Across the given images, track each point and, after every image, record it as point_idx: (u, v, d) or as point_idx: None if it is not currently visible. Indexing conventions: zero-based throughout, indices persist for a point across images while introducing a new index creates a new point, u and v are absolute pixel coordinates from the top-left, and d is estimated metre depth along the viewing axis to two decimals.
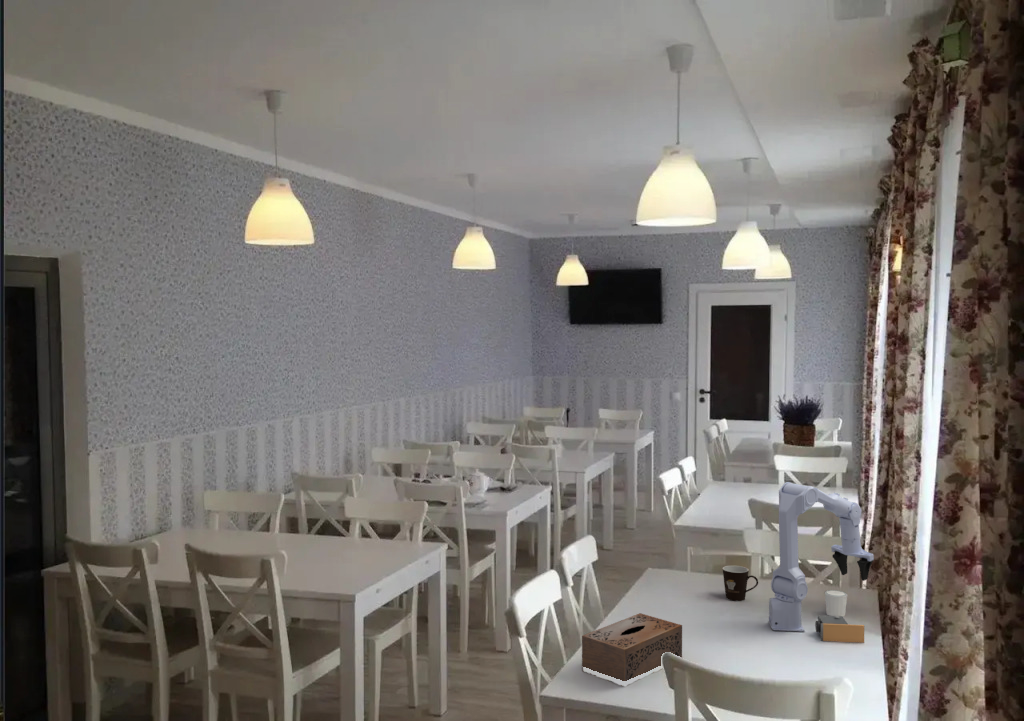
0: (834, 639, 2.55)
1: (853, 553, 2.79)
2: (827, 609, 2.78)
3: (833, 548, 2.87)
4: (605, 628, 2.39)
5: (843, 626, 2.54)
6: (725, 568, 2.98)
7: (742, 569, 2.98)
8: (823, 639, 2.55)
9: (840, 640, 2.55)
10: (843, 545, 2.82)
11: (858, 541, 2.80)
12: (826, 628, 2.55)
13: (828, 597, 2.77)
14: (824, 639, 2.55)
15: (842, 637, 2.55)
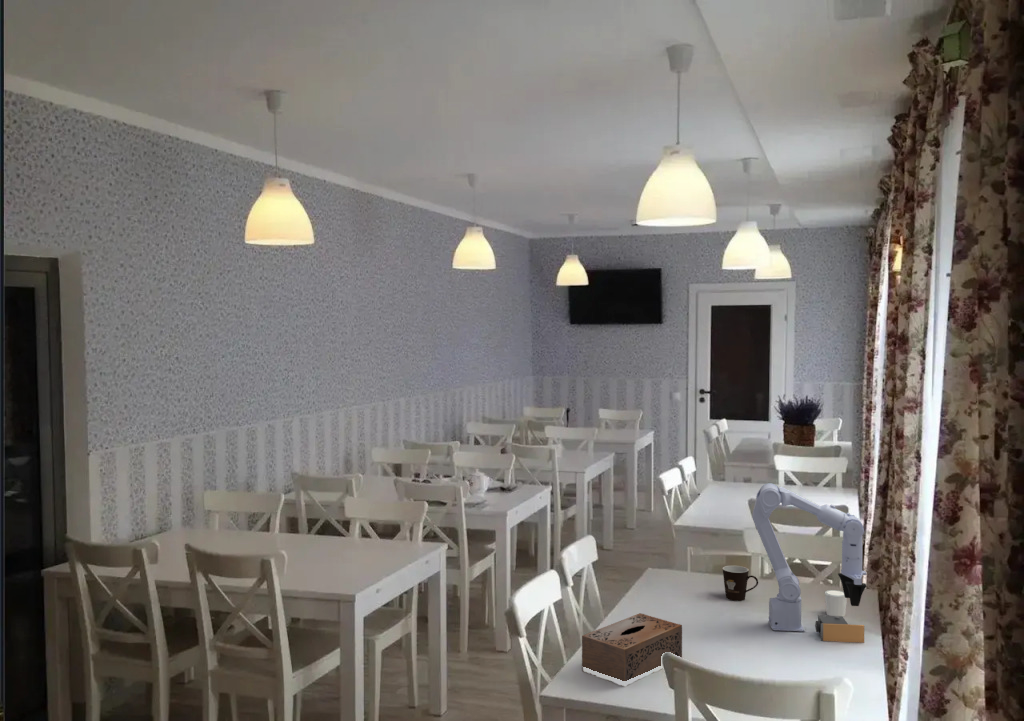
0: (834, 639, 2.55)
1: (846, 573, 2.60)
2: (827, 609, 2.78)
3: None
4: (605, 628, 2.39)
5: (843, 626, 2.54)
6: (725, 568, 2.98)
7: (742, 569, 2.98)
8: (823, 639, 2.55)
9: (840, 640, 2.55)
10: None
11: (854, 562, 2.59)
12: (826, 628, 2.55)
13: (828, 597, 2.77)
14: (824, 639, 2.55)
15: (842, 637, 2.55)
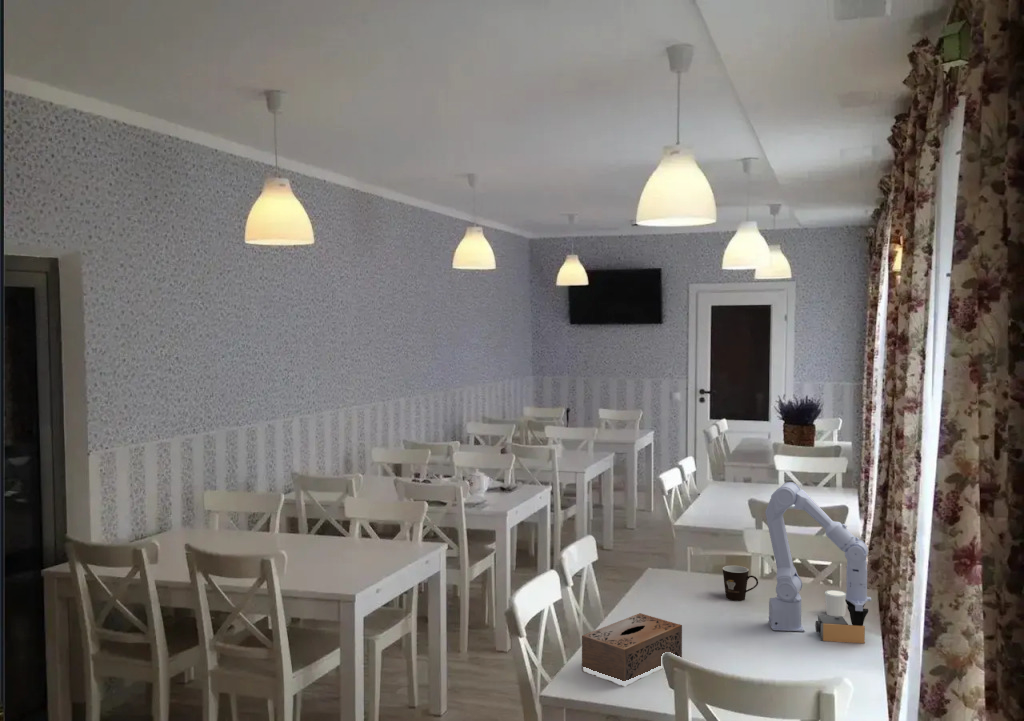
0: (834, 639, 2.55)
1: (849, 598, 2.56)
2: (827, 609, 2.78)
3: None
4: (605, 628, 2.39)
5: (843, 626, 2.54)
6: (725, 568, 2.98)
7: (742, 569, 2.98)
8: (823, 639, 2.55)
9: (840, 640, 2.54)
10: None
11: (857, 588, 2.55)
12: (826, 628, 2.55)
13: (828, 597, 2.77)
14: (824, 639, 2.55)
15: (842, 637, 2.54)
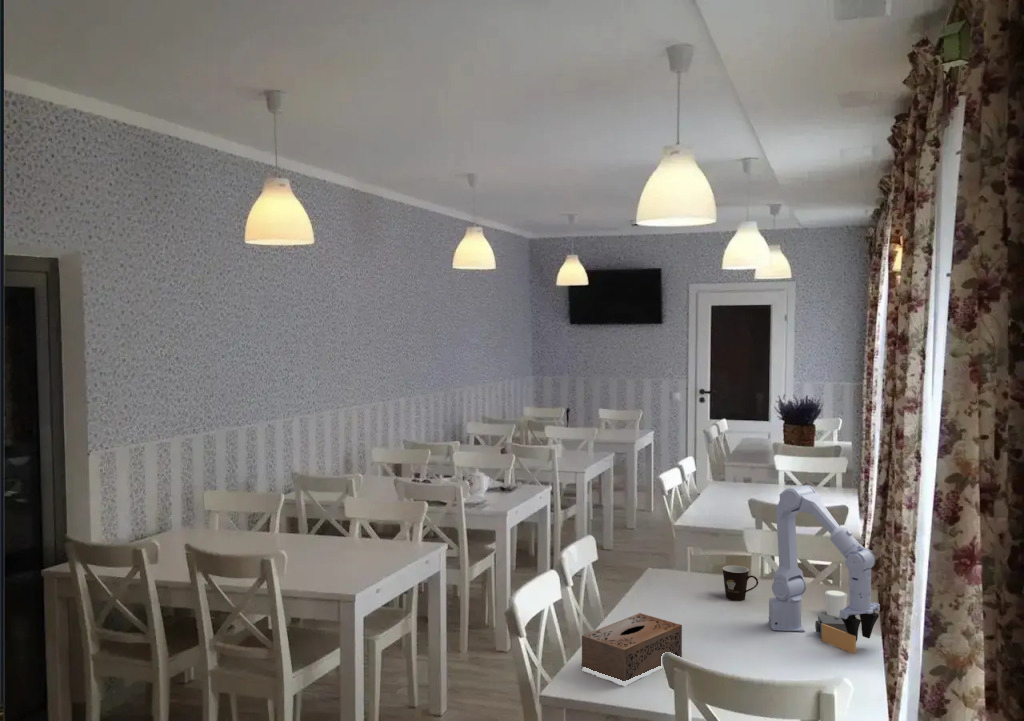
0: (830, 642, 2.52)
1: (848, 606, 2.49)
2: (827, 609, 2.78)
3: None
4: (605, 628, 2.39)
5: (837, 631, 2.50)
6: (725, 568, 2.98)
7: (742, 569, 2.98)
8: (822, 639, 2.55)
9: (835, 645, 2.51)
10: None
11: (853, 596, 2.47)
12: (824, 629, 2.54)
13: (828, 597, 2.77)
14: (823, 639, 2.55)
15: (837, 642, 2.50)
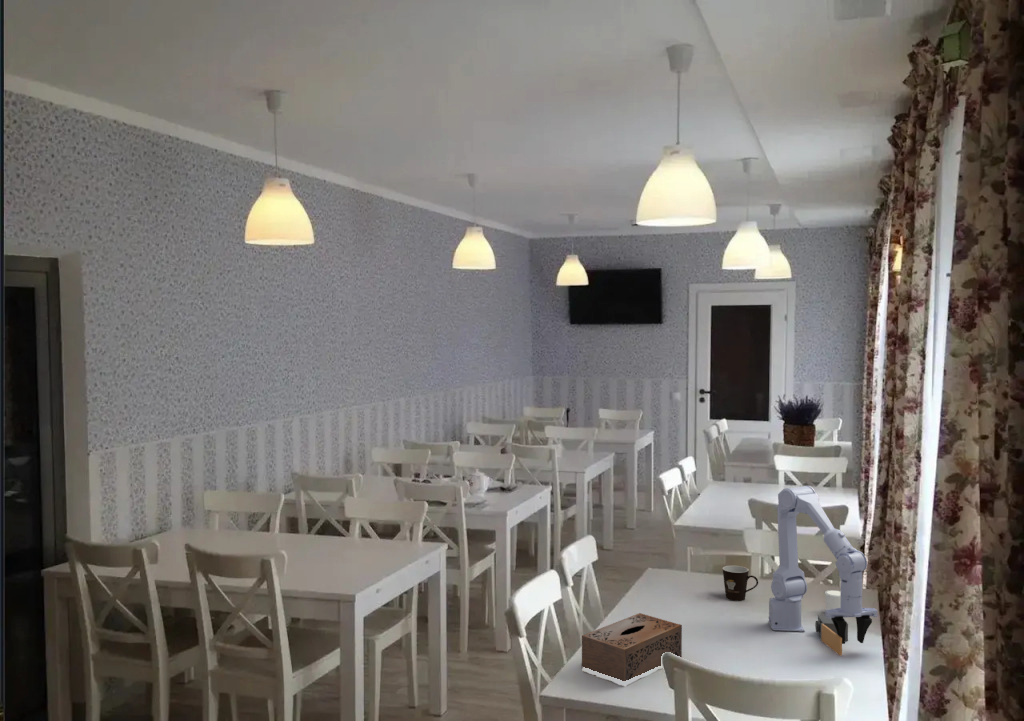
0: (826, 642, 2.52)
1: (840, 607, 2.47)
2: (827, 609, 2.78)
3: None
4: (605, 628, 2.39)
5: (830, 632, 2.50)
6: (725, 568, 2.98)
7: (742, 569, 2.98)
8: (821, 639, 2.55)
9: (829, 645, 2.50)
10: None
11: (841, 598, 2.45)
12: (822, 629, 2.54)
13: (828, 597, 2.77)
14: (822, 639, 2.55)
15: (830, 643, 2.50)
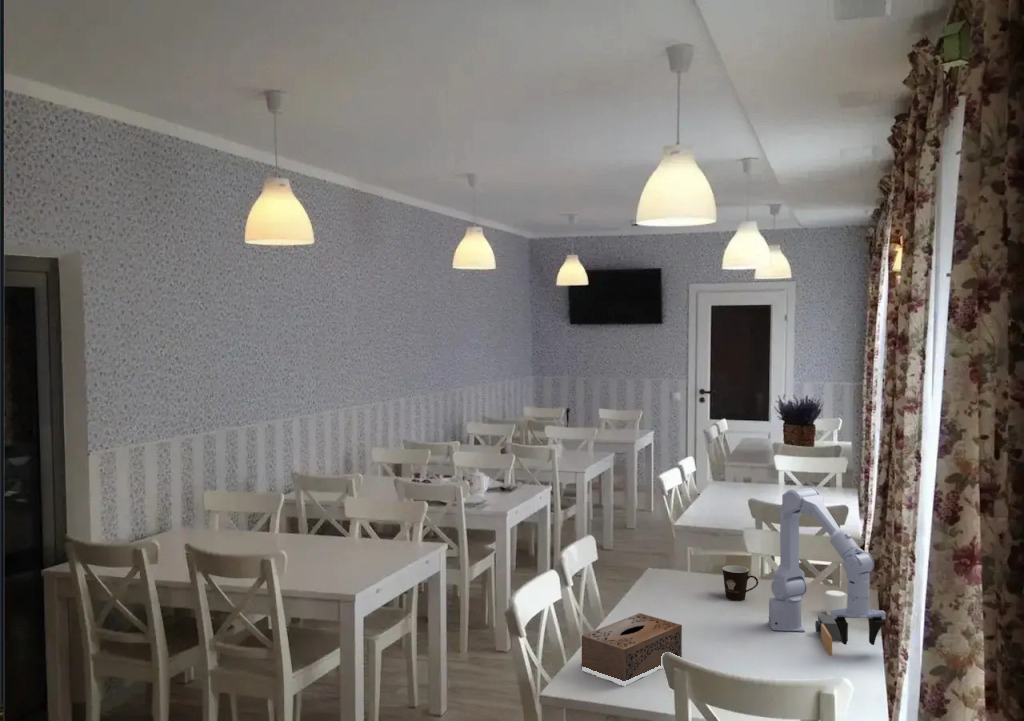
0: (823, 642, 2.52)
1: None
2: (827, 609, 2.78)
3: None
4: (605, 628, 2.39)
5: (825, 632, 2.50)
6: (725, 568, 2.98)
7: (742, 569, 2.98)
8: (821, 639, 2.55)
9: (824, 645, 2.51)
10: None
11: (848, 598, 2.45)
12: (821, 629, 2.54)
13: (828, 597, 2.77)
14: (821, 639, 2.55)
15: (825, 643, 2.50)
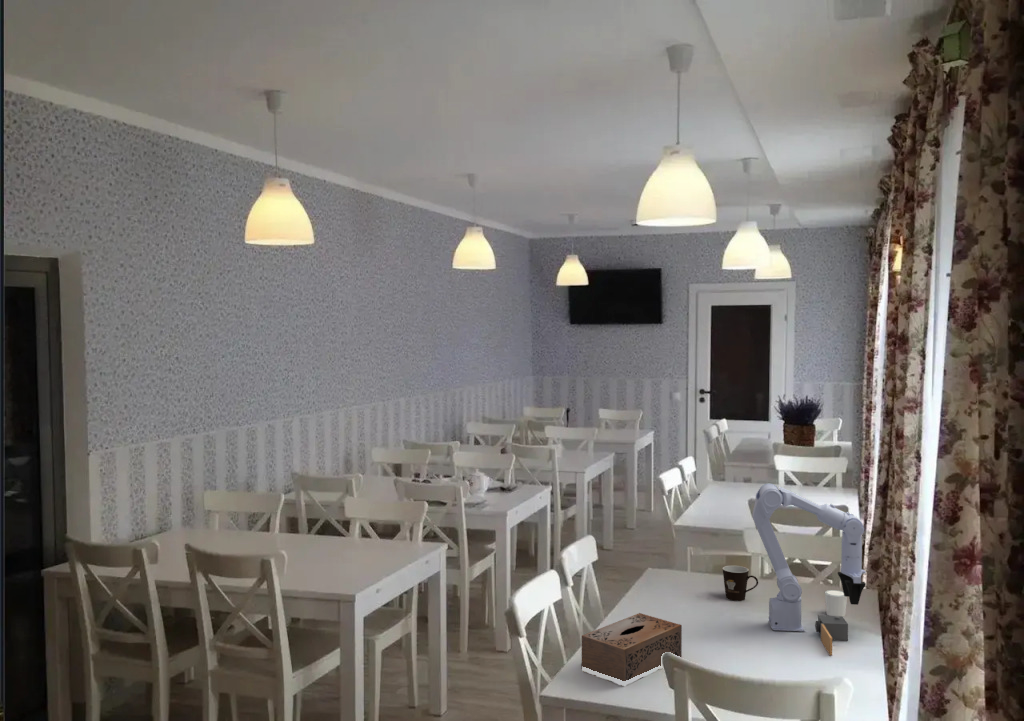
0: (823, 642, 2.52)
1: (845, 571, 2.61)
2: (827, 609, 2.78)
3: None
4: (605, 628, 2.39)
5: (825, 632, 2.50)
6: (725, 568, 2.98)
7: (742, 569, 2.98)
8: (821, 639, 2.55)
9: (824, 645, 2.51)
10: None
11: (854, 561, 2.60)
12: (821, 629, 2.54)
13: (828, 597, 2.77)
14: (821, 639, 2.55)
15: (825, 643, 2.50)
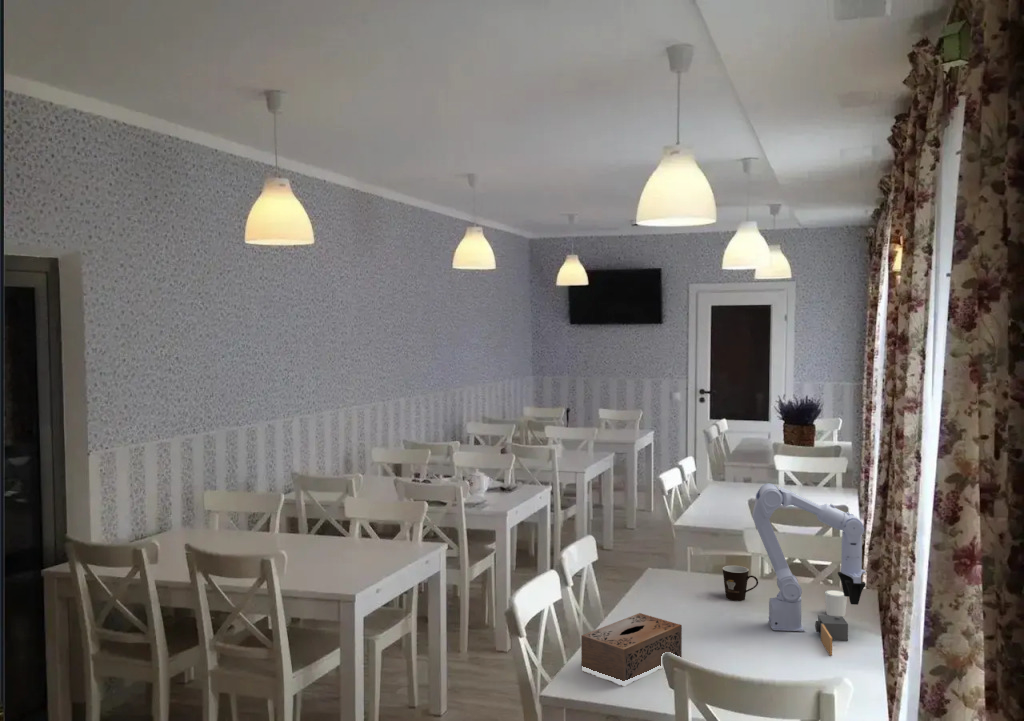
0: (823, 642, 2.52)
1: (845, 571, 2.61)
2: (827, 609, 2.78)
3: None
4: (604, 628, 2.39)
5: (825, 632, 2.50)
6: (725, 568, 2.98)
7: (742, 569, 2.98)
8: (821, 639, 2.55)
9: (824, 645, 2.51)
10: None
11: (854, 561, 2.60)
12: (821, 629, 2.54)
13: (828, 597, 2.77)
14: (821, 639, 2.55)
15: (825, 643, 2.50)
